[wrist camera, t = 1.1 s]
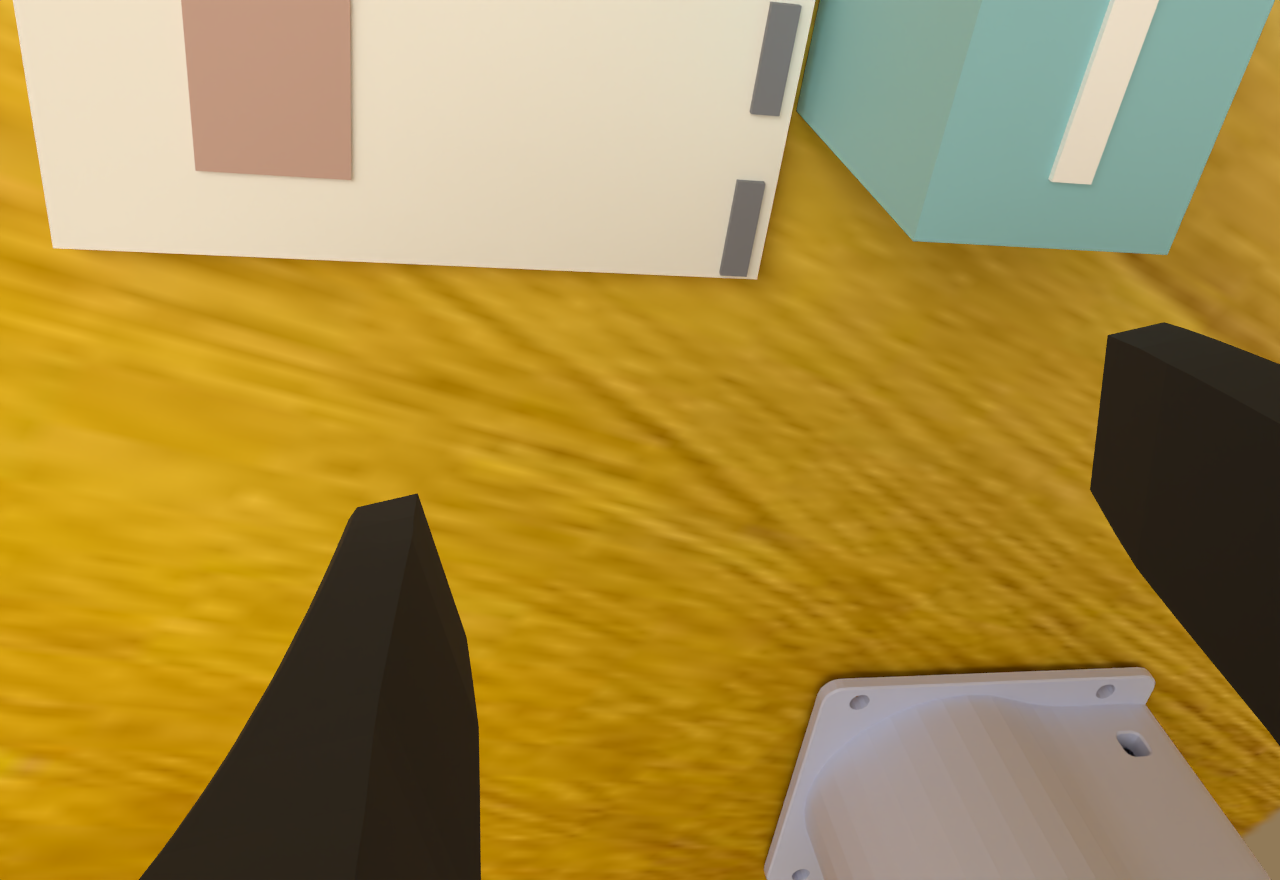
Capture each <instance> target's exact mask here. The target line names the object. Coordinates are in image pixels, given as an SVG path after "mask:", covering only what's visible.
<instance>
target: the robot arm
mask: <svg viewBox="0 0 1280 880" xmlns="http://www.w3.org/2000/svg"><path fill="white" fill-rule="evenodd" d="M1090 490H1091V492H1092V494H1093V496H1094V497H1095V499H1096V501H1097V503H1098V504H1099V506H1100V508H1101V510H1102V511H1103V513H1104V515H1105V517H1106V518H1107V520H1108V522H1109V524H1110V525H1111V527H1112V529H1113V531H1114V532H1115V534H1116V536H1117V537H1118V539H1119V540H1120V542H1121V544H1122V545H1123V547H1124V549H1125V550H1126V552H1127V553H1128V555H1129V557H1130V558H1131V560H1132V561H1133V563H1134V565H1135V566H1136V568H1137V569H1138V570H1139V572H1140V573H1141V574H1142V575H1143V577H1144V578H1145V579H1146V581H1147V582H1148V583H1149V584H1150V586H1151V587H1152V588H1153V589H1154V591H1155V592H1156V593H1157V594H1158V596H1159V597H1160V598H1161V599H1162V601H1163V602H1164V603H1165V604H1166V606H1167V607H1168V608H1169V609H1170V611H1171V612H1172V613H1173V614H1174V616H1175V617H1176V618H1177V619H1178V621H1179V622H1180V623H1181V624H1182V626H1183V627H1184V628H1185V629H1186V631H1187V632H1188V633H1189V634H1190V635H1191V637H1192V638H1193V639H1194V640H1195V642H1196V643H1197V644H1198V645H1199V646H1200V648H1201V649H1202V650H1203V651H1204V653H1205V654H1206V655H1207V656H1208V657H1209V659H1210V660H1211V661H1212V662H1213V664H1214V665H1215V666H1216V667H1217V669H1218V670H1219V671H1220V672H1221V673H1222V675H1223V676H1224V677H1225V678H1226V680H1227V681H1228V682H1229V683H1230V684H1231V686H1232V687H1233V688H1234V689H1235V691H1236V692H1237V693H1238V694H1239V695H1240V697H1241V698H1242V699H1243V700H1244V702H1245V703H1246V704H1247V705H1248V706H1249V708H1250V709H1251V710H1252V711H1253V713H1254V714H1255V715H1256V716H1257V717H1258V719H1259V720H1260V721H1261V722H1262V724H1263V725H1264V726H1265V727H1266V728H1267V730H1268V731H1269V732H1270V734H1271V735H1272V736H1273V738H1274V739H1275V740H1276V742H1277V743H1278V744H1279V746H1280V364H1277V363H1275V362H1272V361H1269V360H1267V359H1264V358H1262V357H1259V356H1257V355H1254V354H1252V353H1249V352H1247V351H1244V350H1241V349H1239V348H1236V347H1234V346H1231V345H1228V344H1226V343H1223V342H1221V341H1218V340H1215V339H1213V338H1210V337H1207V336H1204V335H1202V334H1199V333H1196V332H1193V331H1190V330H1187V329H1184V328H1181V327H1178V326H1174V325H1171V324H1168V323H1159V324H1155V325H1151V326H1146V327H1142V328H1138V329H1133V330H1129V331H1125V332H1120V333H1116V334H1111V335H1108V338H1107V347H1106V356H1105V364H1104V373H1103V382H1102V391H1101V399H1100V408H1099V417H1098V426H1097V435H1096V443H1095V452H1094V461H1093V470H1092V478H1091V487H1090ZM1154 686H1155V680H1154V678H1153V677H1152V675H1151V674H1150V673H1149V671H1148V670H1146V669H1145V668H1141V667H1127V668H1102V669H1076V670H1050V671H1025V672H999V673H974V674H948V675H922V676H897V677H871V678H845V679H836V680H832V681H830V682H828V683H826V684H825V685H824V686H823V687H822V688H821V689H820V691H819V692H818V695H817V698H816V701H815V704H814V708H813V711H812V714H811V717H810V720H809V724H808V727H807V730H806V733H805V737H804V740H803V743H802V746H801V749H800V753H799V756H798V759H797V762H796V766H795V769H794V772H793V775H792V778H791V782H790V785H789V788H788V791H787V795H786V798H785V801H784V804H783V807H782V811H781V814H780V817H779V820H778V824H777V827H776V830H775V833H774V837H773V840H772V843H771V846H770V849H769V853H768V856H767V859H766V862H765V866H764V872H765V875H766V879H767V880H1271V878H1270V877H1269V875H1268V874H1267V872H1266V871H1265V869H1264V868H1263V867H1262V865H1261V864H1260V863H1259V861H1258V860H1257V859H1256V857H1255V856H1254V854H1253V853H1252V852H1251V850H1250V849H1249V848H1248V846H1247V845H1246V843H1245V842H1244V840H1243V839H1242V838H1241V836H1240V835H1239V833H1238V832H1237V831H1236V829H1235V828H1234V826H1233V825H1232V824H1231V822H1230V821H1229V820H1228V818H1227V817H1226V815H1225V814H1224V813H1223V811H1222V810H1221V808H1220V807H1219V806H1218V804H1217V803H1216V802H1215V800H1214V799H1213V797H1212V796H1211V795H1210V793H1209V792H1208V790H1207V789H1206V788H1205V786H1204V785H1203V784H1202V782H1201V781H1200V779H1199V778H1198V777H1197V775H1196V774H1195V772H1194V771H1193V770H1192V768H1191V767H1190V766H1189V764H1188V763H1187V761H1186V760H1185V759H1184V757H1183V756H1182V754H1181V753H1180V752H1179V750H1178V749H1177V748H1176V746H1175V745H1174V743H1173V742H1172V741H1171V739H1170V738H1169V736H1168V735H1167V734H1166V732H1165V731H1164V729H1163V728H1162V727H1161V725H1160V724H1159V723H1158V721H1157V720H1156V718H1155V717H1154V716H1153V714H1152V713H1151V711H1150V710H1149V709H1148V707H1147V706H1146V705H1145V704H1146V702H1147V700H1148V698H1149V696H1150V695H1151V693H1152V691H1153V689H1154ZM856 696H858V697H856ZM139 880H481V862H480V779H479V727H478V719H477V711H476V703H475V695H474V687H473V680H472V673H471V666H470V659H469V651H468V644H467V638H466V635H465V632H464V629H463V626H462V623H461V620H460V617H459V614H458V611H457V608H456V605H455V602H454V599H453V596H452V594H451V591H450V588H449V585H448V582H447V579H446V576H445V573H444V570H443V567H442V564H441V561H440V558H439V555H438V552H437V549H436V546H435V543H434V540H433V538H432V535H431V532H430V529H429V526H428V523H427V520H426V517H425V514H424V511H423V508H422V505H421V502H420V499H419V496H418V494H414V495H409V496H405V497H401V498H396V499H392V500H388V501H383V502H379V503H374V504H370V505H366V506H361V507H357V508H356V510H355V511H354V513H353V514H352V515H351V517H350V518H349V520H348V523H347V525H346V527H345V530H344V532H343V534H342V537H341V539H340V541H339V544H338V546H337V548H336V551H335V553H334V555H333V557H332V560H331V562H330V564H329V566H328V569H327V571H326V573H325V575H324V577H323V580H322V582H321V584H320V586H319V588H318V590H317V592H316V594H315V597H314V599H313V601H312V603H311V605H310V607H309V609H308V611H307V613H306V615H305V617H304V619H303V621H302V623H301V625H300V627H299V629H298V631H297V633H296V635H295V637H294V639H293V640H292V642H291V644H290V646H289V648H288V650H287V652H286V654H285V656H284V658H283V660H282V662H281V664H280V666H279V668H278V669H277V671H276V673H275V675H274V677H273V679H272V680H271V682H270V684H269V686H268V687H267V689H266V691H265V693H264V694H263V696H262V698H261V699H260V701H259V703H258V704H257V706H256V708H255V710H254V711H253V713H252V715H251V716H250V718H249V720H248V721H247V723H246V725H245V727H244V728H243V730H242V732H241V733H240V735H239V737H238V739H237V740H236V742H235V744H234V745H233V747H232V748H231V750H230V752H229V753H228V755H227V756H226V758H225V760H224V761H223V763H222V764H221V766H220V767H219V769H218V770H217V772H216V773H215V775H214V777H213V778H212V780H211V781H210V783H209V784H208V786H207V787H206V789H205V790H204V792H203V793H202V794H201V796H200V797H199V799H198V800H197V802H196V803H195V805H194V806H193V807H192V809H191V810H190V812H189V813H188V815H187V816H186V817H185V819H184V820H183V822H182V823H181V824H180V826H179V827H178V829H177V830H176V832H175V833H174V834H173V836H172V837H171V838H170V840H169V841H168V843H167V844H166V845H165V847H164V848H163V849H162V851H161V852H160V853H159V854H158V856H157V857H156V858H155V860H154V861H153V862H152V863H151V865H150V866H149V867H148V869H147V870H146V871H145V872H144V874H143V875H142V876H141V878H140V879H139Z"/></svg>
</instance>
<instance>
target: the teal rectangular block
mask: <svg viewBox="0 0 1280 880" xmlns="http://www.w3.org/2000/svg"><path fill="white" fill-rule="evenodd" d="M1274 1H1275V0H820V2H819V6H818V11H817V16H816V21H815V25H814V30H813V35H812V39H811V44H810V49H809V54H808V58H807V63H806V68H805V73H804V77H803V82H802V87H801V91H800V96H799V101H798V106H797V110H796V111H797V112H798V113H799V114H800V115H801V117H802V118H803V119H804V120H805V121H806V122H807V123H808V124H809V126H810V127H811V128H812V129H813V130H814V131H815V132H816V133H817V134H818V136H819V137H820V138H821V139H822V140H823V141H824V142H825V143H826V144H827V146H828V147H829V148H830V149H831V150H832V151H833V152H834V153H835V155H836V156H837V157H838V158H839V159H840V160H841V161H842V162H843V163H844V165H845V166H846V167H847V168H848V169H849V170H850V171H851V172H852V173H853V175H854V176H855V177H856V178H857V179H858V180H859V181H860V182H861V183H862V185H863V186H864V187H865V188H866V189H867V190H868V191H869V192H870V194H871V195H872V196H873V197H874V198H875V199H876V200H877V201H878V202H879V204H880V205H881V206H882V207H883V208H884V209H885V210H886V211H887V212H888V214H889V215H890V216H891V217H892V218H893V219H894V220H895V221H896V223H897V224H898V225H899V226H900V227H901V228H902V229H903V230H904V231H905V233H906V234H907V235H908V236H909V237H910V238H911V239H912V240H913V241H921V242H939V243H958V244H976V245H995V246H1013V247H1032V248H1050V249H1069V250H1087V251H1106V252H1124V253H1143V254H1161V255H1167V254H1168V252H1169V250H1170V247H1171V245H1172V243H1173V240H1174V238H1175V236H1176V233H1177V231H1178V228H1179V226H1180V224H1181V221H1182V219H1183V217H1184V214H1185V212H1186V209H1187V207H1188V205H1189V202H1190V200H1191V198H1192V195H1193V193H1194V191H1195V188H1196V186H1197V183H1198V181H1199V179H1200V176H1201V174H1202V172H1203V169H1204V167H1205V164H1206V162H1207V160H1208V157H1209V155H1210V153H1211V150H1212V148H1213V146H1214V143H1215V141H1216V138H1217V136H1218V134H1219V131H1220V129H1221V127H1222V124H1223V122H1224V119H1225V117H1226V115H1227V112H1228V110H1229V108H1230V105H1231V103H1232V101H1233V98H1234V96H1235V93H1236V91H1237V89H1238V86H1239V84H1240V82H1241V79H1242V77H1243V74H1244V72H1245V70H1246V67H1247V65H1248V63H1249V60H1250V58H1251V56H1252V53H1253V51H1254V48H1255V46H1256V44H1257V41H1258V39H1259V37H1260V34H1261V32H1262V29H1263V27H1264V25H1265V22H1266V20H1267V18H1268V15H1269V13H1270V11H1271V8H1272V6H1273V3H1274Z"/></svg>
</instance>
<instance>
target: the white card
mask: <svg viewBox="0 0 1280 880" xmlns="http://www.w3.org/2000/svg"><path fill="white" fill-rule="evenodd" d="M13 3H14V10H15V16H16V22H17V28H18V34H19V40H20V47H21V53H22V59H23V65H24V71H25V77H26V84H27V90H28V96H29V102H30V108H31V114H32V121H33V127H34V133H35V139H36V145H37V151H38V158H39V164H40V170H41V176H42V182H43V188H44V195H45V201H46V207H47V213H48V219H49V225H50V232H51V238H52V244H53V248H62V249H85V250H107V251H130V252H152V253H175V254H197V255H220V256H242V257H265V258H287V259H310V260H332V261H355V262H377V263H400V264H422V265H445V266H467V267H490V268H512V269H535V270H557V271H580V272H602V273H625V274H647V275H670V276H692V277H715V278H737V279H757V276H758V272H759V267H760V262H761V257H762V253H763V248H764V243H765V238H766V233H767V229H768V224H769V219H770V214H771V210H772V205H773V200H774V195H775V190H776V186H777V181H778V176H779V171H780V167H781V162H782V157H783V152H784V147H785V143H786V138H787V133H788V128H789V124H790V119H791V114H792V109H793V104H794V100H795V95H796V90H797V85H798V81H799V76H800V71H801V66H802V62H803V57H804V52H805V47H806V42H807V38H808V33H809V28H810V23H811V19H812V14H813V9H814V4H815V0H13Z"/></svg>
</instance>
